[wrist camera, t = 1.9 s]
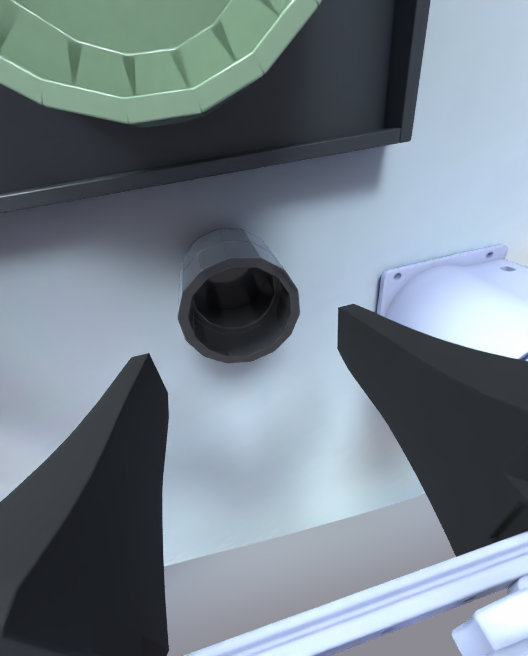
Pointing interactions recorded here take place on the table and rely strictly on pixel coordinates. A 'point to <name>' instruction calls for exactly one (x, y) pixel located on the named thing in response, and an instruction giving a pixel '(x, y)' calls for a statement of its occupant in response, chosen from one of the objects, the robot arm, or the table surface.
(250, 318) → the black cup
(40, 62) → the sage bowl
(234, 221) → the table surface
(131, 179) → the tray
